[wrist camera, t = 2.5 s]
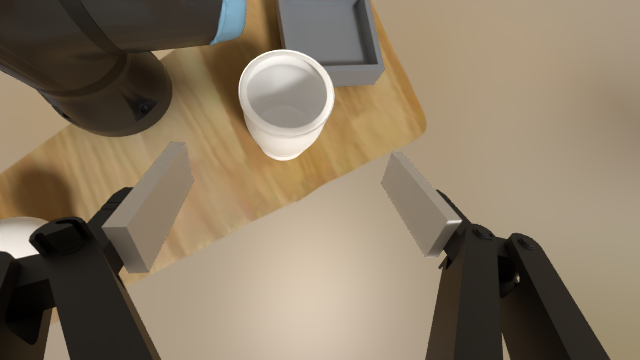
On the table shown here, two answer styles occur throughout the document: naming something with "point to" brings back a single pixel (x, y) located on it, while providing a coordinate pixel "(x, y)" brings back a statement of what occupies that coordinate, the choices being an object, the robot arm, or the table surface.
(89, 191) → the table surface
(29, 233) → the light bulb
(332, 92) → the jar
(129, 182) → the table surface
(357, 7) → the footed square tray
